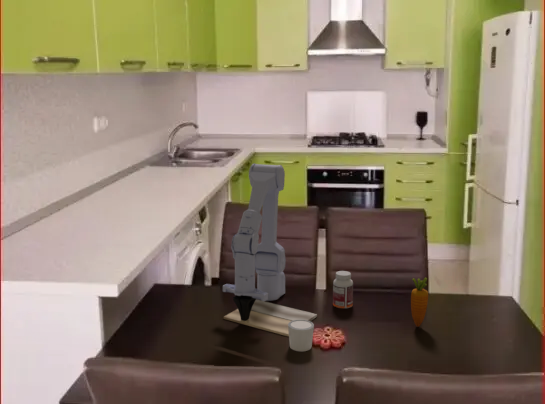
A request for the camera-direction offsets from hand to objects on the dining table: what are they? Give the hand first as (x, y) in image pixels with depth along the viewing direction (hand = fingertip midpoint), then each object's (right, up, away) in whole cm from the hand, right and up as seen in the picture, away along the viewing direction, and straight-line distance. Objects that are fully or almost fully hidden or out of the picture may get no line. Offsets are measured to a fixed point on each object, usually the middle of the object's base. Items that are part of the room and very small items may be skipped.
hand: (244, 319), depth 176 cm
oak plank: (+5, -2, 0) cm, 5 cm away
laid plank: (+10, 0, +7) cm, 12 cm away
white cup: (+15, -5, -15) cm, 22 cm away
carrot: (+50, -2, -1) cm, 50 cm away
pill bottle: (+30, +1, +14) cm, 33 cm away
